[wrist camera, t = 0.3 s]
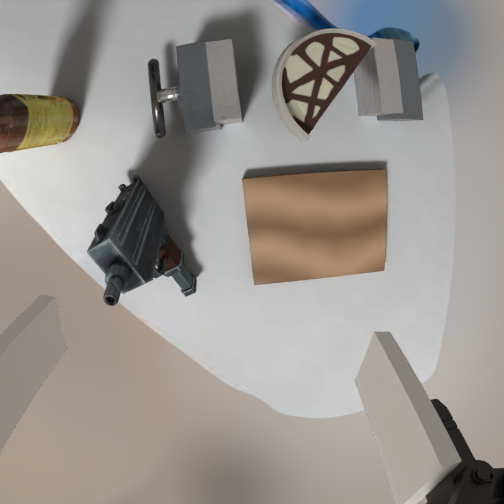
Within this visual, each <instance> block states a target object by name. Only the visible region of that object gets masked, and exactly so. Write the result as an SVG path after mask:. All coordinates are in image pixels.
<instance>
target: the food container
mask: <svg viewBox="0 0 504 504" xmlns="http://www.w3.org/2000/svg"><path fill="white" fill-rule="evenodd" d="M377 44H378V43H376V42H375V41H373V40H372V39H370V38H369V37H367V36H365V35H363V34H360V33H357V32H354V31H351V30H346V29H340V28H326V29H319V30H316V31H313V32H310V33H308V34H306V35H304V36H302V37H300V38H298V39H296V40H295V41H293V42H292V43H291V44H289V46H288V47H287V48H286V49H285V50H284V51H283V52H282V54H281V55H280V57H279V59H278V61H277V63H276V65H275V68H274V72H273V77H272V92H273V99H274V102H275V106H276V109H277V111H278V113H279V115H280V117H281V119H282V120H283V122H284V123H285V125H286V126H287V128H288V129H289V130H290V131H291V132H292V133H293V134H294V135H295V136H296V137H297V138H298V139H300V140H301V141H302V142H304V141H306V140H307V139H308V138H309V137H311V136H310V135H308V134H309V133H310V132H311V130H312V129H313V128H314V126H315V124H316V123H317V121H318V120H319V119H320V117H321V116H322V114H323V113H324V112H325V110H326V109H327V108H328V106H329V105H330V103H331V102H332V101H333V99H334V98H335V97H336V95H337V94H338V93H339V91H340V90H341V89H342V87H343V86H344V84H345V83H346V82H347V80H348V79H349V77H350V76H351V74H352V73H353V72H354V70H355V69H356V68H357V66H358V65H359V63H360V62H361V61H362V59H363V58H364V57H365V55H366V54H367V52H368V51H369V50H370V49H371V48H373V47H374V46H375V45H377Z"/></svg>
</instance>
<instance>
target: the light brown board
mask: <svg viewBox="0 0 504 504" xmlns="http://www.w3.org/2000/svg"><path fill="white" fill-rule="evenodd" d="M242 182H243V190H244V199H245V208H246V217H247V226H248V235H249V243H250V252H251V261H252V270H253V279H254V285H260V284H271V283H281V282H290V281H300V280H309V279H318V278H327V277H336V276H344V275H353V274H361V273H369V272H377V271H384V266H385V249H386V222H387V175H386V170H385V169H361V170H339V171H322V172H307V173H293V174H281V175H270V176H259V177H250V178H243V179H242Z"/></svg>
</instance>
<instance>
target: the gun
mask: <svg viewBox="0 0 504 504" xmlns="http://www.w3.org/2000/svg"><path fill="white" fill-rule="evenodd" d="M133 181H134V183H132V184H130V185H129V186H127V187H126V185H125V184H121V185H120V186H119V187H118V188H119V189H120V191H121V193H120V194H119V196H118V197H117V199H116V201H115V202H114V201H113V202H111V203H110V204H109V205H108V206H107V207H106V208H105V211H106V212H107V216H106V218H105V220H104V221H103V223H102V224H99V226H98V227H97V229H96V231H95V233H94V234H95V237H94V239H93V241H92V243H91V245H90V247H89V249H88V251H87V253H88V255H89V256H90V257H91V258H92V259H93V260H94V262H95V263H96V264H97V265H98V266H99V267H100V269H101V270H102V271H103V272H104V273H105V274H106V276H105V282H106V284H107V287H106V290H105V293H104V301H105V303H106V304H108V305H111V306H113V305H115V304H117V303H118V300H119V297H120V293H121V292H122V293H123V294H124V293H126V292H128V291H131V290H133V289H135V288H137V287H139V286H141V285H143V284H145V283H147V282H149V281H151V280H153V278H158V277H160V276H162V275H164V276H166V277H169V276H172V277H173V278H174V280H175V281H176V282H177V283H178V285H179V286H180V287H181V288H182V290H181V292H182V293H183V294H184V295H185V296H188V295H191V294H193V293H195V292H196V283H197V280H196V278H195V277H194V276H193V275H191V274H190V273H189V272H188V270H187V269H186V268H185V266H184V265H183V263H184V254H183V252H182V251H180V250H179V249H178V248H177V247H176V246H175V244H174V243H173V241H172V240H171V238H170V237H169V235H168V231H167V230H166V228H165V227H164V226H165V223H164V215H163V212H162V210H161V209H160V207H159V206H158V204H157V203H156V201H155V200H154V198H153V197H152V195H151V194H150V192H149V191H148V189H147V188H146V186H145V185H144V183H143V182H142V180H141V179H140V177H139V176H138V174H137V175H136V176H135V177H134V179H133ZM155 266H157V267H158V269H156V267H155Z"/></svg>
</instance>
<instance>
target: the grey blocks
mask: <svg viewBox="0 0 504 504" xmlns="http://www.w3.org/2000/svg"><path fill="white" fill-rule="evenodd" d="M371 39H372V40H373V41H375V42H376V43H378V44H377V45H375V46H374V47H373V48H371V49H370V50H369V51H368V52H367V54H366V55H365V57H364V58H363V59H362V61H361V62H360V63H359V65H358V66H357V68H356V69H355V70H354V76H355V84H356V93H357V102H358V112H359V116H377V120H385V121H410V120H423V112H422V102H421V92H420V84H419V76H418V69H417V63H416V56H415V50H414V45H413V42H412V41H406V40H399V39H392V38H388V39H382V38H373V37H372V38H371ZM176 50H177V62H178V73H179V83H180V86H175V87H170V88H165V89H161V82H160V71H159V62H158V60H156V59H151V60H150V61H149V62H148V73H149V84H150V95H151V105H152V114H153V123H154V131H155V136H156V137H157V138H163V137H164V136H165V134H166V129H165V120H164V112H163V103H167V102H172V101H177V100H181V102H182V111H183V120H184V128H185V132H202V131H209V130H216V129H222V126H221V124H229V123H238V122H243V121H242V112H241V103H240V95H239V86H238V77H237V68H236V59H235V53H234V48H233V43H232V39H226V40H218V41H211V42H207V41H203V42H197V43H191V44H186V45H180V46H176Z"/></svg>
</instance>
